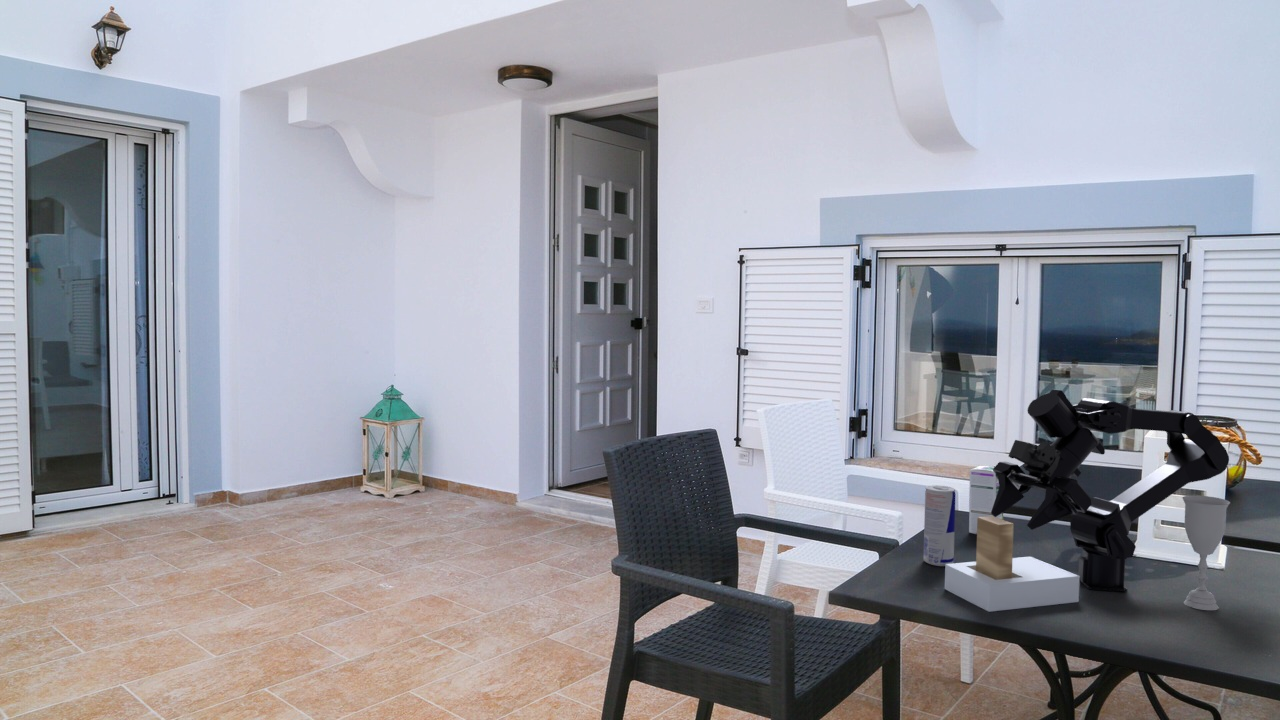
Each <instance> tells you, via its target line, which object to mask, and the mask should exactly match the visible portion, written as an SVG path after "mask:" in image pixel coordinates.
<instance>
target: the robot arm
mask: <svg viewBox="0 0 1280 720" xmlns="http://www.w3.org/2000/svg"><path fill="white" fill-rule="evenodd" d="M1027 414H1028V415H1029V416H1030V417H1031V419H1032V420H1033V421H1034V422H1035V423H1036V424H1037V426H1038V427H1039V428H1040V430H1041V431H1042V432H1043V433H1044V434H1045V435H1046V436H1047V437H1049V438H1051V439H1052V438H1053V439H1054V438H1056V439H1055V440H1054V441H1053V442H1052V443H1051V444H1050V443H1046V442H1040V443H1039V444H1038V445H1037V444H1035V443H1030V442H1026V441H1023V440H1018V439H1015V440H1014V442H1013V444H1012V447H1011V448H1010V451H1009V453H1008V458H1010V459H1015V460H1017V461H1019V462H1021V463H1022V464H1023V465H1022V467H1023V468H1024V470H1025V471H1027V472H1028V474H1027V473H1025V472H1024V470H1023V469H1022V467H1020V466H1019V464H1015V463H1012V462H1008V461H998V463H997V464H996V465H995V466H994V467H995V468H994V469H993V471H994V472H995V474H996V478H997V479H998V481H999V489H998V493H997V496H996V499H995V502H994V505H993V508H992V511H991V514H992V515H993V516H994V517H997V516H998V515H1000V514H1001V513H1003V514H1004V512H1006V511H1007V510H1009V509H1010V508H1011V507H1012V506H1013V507H1014V505H1015V504H1017V503H1018V502H1019V501H1021V500H1022V499H1024V498H1025V496H1024V494H1026V493H1028V492H1029V491H1030V490H1031V489H1032V488H1033V489H1035V490H1039V491H1042V492H1044V493H1045V494H1044V495H1045V496H1044V499H1043V501H1042V502H1041V504H1040V505H1039V507H1038V508H1037V509H1036V510H1035V512H1034V513H1033V515H1032V516H1031V517H1030V519H1029V521H1028V523H1027V524H1026V526H1027V528H1028V529H1029V530H1030V531H1033V530H1035V529H1037V528H1040V527H1043V526H1044V525H1047V524H1050V523H1052V522H1055V521H1057V520H1060V519H1062V518H1065V517H1068V516H1070V515H1072V516H1071V517H1070V525H1069V526H1070V527H1069V528H1070V533H1071V534H1072V536H1073V540H1074V543H1075V547H1076V548H1082V554H1081V555H1082V556H1079V557H1078V573H1077V575H1078V576H1080V577H1079V582H1081V583H1082V585H1084V586H1085V587H1086V588H1087V589H1089V590H1093V591H1094V590H1097V591H1114V592H1116V591H1117V592H1128V587H1127V586H1125V573H1126V572H1125V570H1126V569H1125V568H1126V560H1127V559H1128V558H1129V559H1130V558H1133V557H1134V553H1135V550H1136V544H1135V543H1134V542H1133V541H1132V539H1130V538H1129V536H1128V535H1129V534H1130V529H1131V525H1132V523H1133V522H1134V521H1136V520H1137V519H1138V518H1140V517H1141V516H1143V515H1145V514H1146V513H1147V512H1149V511H1150V510H1152V509H1153V508H1154V507H1156V506H1157V505H1159V504H1160V503H1161V502H1163V501H1164V500H1166V499H1167V498H1169V497H1170V496H1172V495H1173V494H1174V493H1176V492H1178V491H1179V490H1180V489H1182V488H1184V487H1185V486H1186V485H1188V484H1190V483H1196V482H1200V481H1206V480H1209V479H1213V478H1214V477H1216V476H1219V475H1221V474H1222V473H1224V472H1225V471H1226V469H1227V468H1228V465H1229V461H1230V455H1229V454H1228V451H1227V449H1226V448H1225V446H1224V445H1223V444H1222V442H1221V440H1220V439H1219V438H1218V437H1217V436H1216V435H1215V434H1214V433H1212V432H1211V431H1210V429H1208V428H1207V427H1205V425H1203V424H1202V422H1201V421H1200V419H1199V417H1198V416H1197V415H1195V414H1194V413H1192V412H1187V411H1182V410H1181V411H1179V410H1158V409H1147V408H1137V407H1136V408H1134V407H1131V406H1129V405H1127V404H1123V403H1120V402H1118V401H1112V400H1106V399H1099V398H1091V397H1083V398H1081V399H1080V401H1079V402H1078V403H1077V404H1072V402H1070V400H1069V399H1068V398H1067V395H1066V394H1065V392H1064V391H1063V390H1062V389H1055V388H1052V389H1051V390H1050V392H1048V393H1045V394H1042V395H1040V396H1039V397H1037V398H1036V399H1033V400H1031V402H1030V403H1029V405H1028V407H1027ZM1130 430H1143V431H1154V432H1155V431H1156V432H1157V431H1158V432H1166V445H1167V447H1168V448H1169V449H1170V451H1169V452H1168V455H1167V458H1166V462H1165V463H1164V464H1163V465H1161V466H1160V467H1158V468H1157V469H1155V470H1154V471H1152V472H1150V474H1148V475H1146V476H1145V477H1144V478H1142V479H1141V480H1139V481H1138V482H1136V483H1135V484H1133V485H1132V486H1130V487H1129V488H1127V489H1126V490H1124V491H1123V492H1121V493H1120V494H1118V495H1117V496H1115V497H1114V498H1113V499H1111V500H1106V499H1104V498H1103V499H1102V498H1099V497H1092V496H1091V495H1090V494H1089V493H1088V492H1087V491H1086V489H1085V488H1084V487H1083V486H1082V484H1080V482H1079V481H1078V480H1077V479H1075V478H1074V479H1073V478H1072V477H1076V478H1078V477H1079V476H1080V475H1081V474H1082V471H1080V470H1079V468H1080V466H1081V465H1082V463H1084V461H1085V460H1086V459H1087V458H1088V457H1089V455H1090V454H1091V453H1093V454H1098V455H1104V454H1105V453H1106V450H1105V446H1104V439H1103V438H1101V437H1096V436H1095V435H1094V433H1093V432H1096V433H1097V432H1098V433H1103V434H1109V435H1110V434H1118V433H1125V432H1127V431H1130ZM1184 435H1186V437H1187V438H1185V436H1184Z"/></svg>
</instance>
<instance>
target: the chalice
mask: <svg viewBox="0 0 1280 720" xmlns="http://www.w3.org/2000/svg"><path fill="white" fill-rule="evenodd" d="M1181 498H1182V500H1183V503H1184V504H1185V505H1184V524H1183V527H1184V528H1185V533H1186V536H1187V538H1188V541H1189V543H1190V545H1191V547H1192V549H1193V551H1194V552H1195V553H1196V554H1198V555H1199V562H1198V564H1197V567H1198V570H1199V571H1198V574H1197V575H1196V578H1197V580H1198V586H1197V587H1196V589H1195V588H1194V589H1191V590H1190V591H1189V592H1188V595H1187V596H1186V598H1185V600H1184V601H1183V604H1184V605H1185V606H1186V607H1189V608H1193V609H1197V610H1202V611H1203V610H1204V611H1216V610H1219V609H1220V607H1219V606H1218V604H1217V600H1216V599H1215V595H1214V594H1213V593H1212V592H1211V591H1209V590H1208V588H1206V581H1207V580H1208V579H1209V577H1208V576H1207V573H1206V571H1207V569H1208V568H1209V566H1208V563H1207V558H1208V556H1210V555H1213V554H1214V553H1215V551H1216V549H1217V548H1218V546H1219V545H1220V543H1221V542H1222V539H1223V537H1224V534H1225V533H1226V526H1227V525H1226V522H1227V509H1228V507H1229V506H1230V504H1231V501H1229V500H1227V499H1225V498H1220V497H1214V496H1210V495H1209V496H1207V495H1185V496H1182V497H1181Z"/></svg>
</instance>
